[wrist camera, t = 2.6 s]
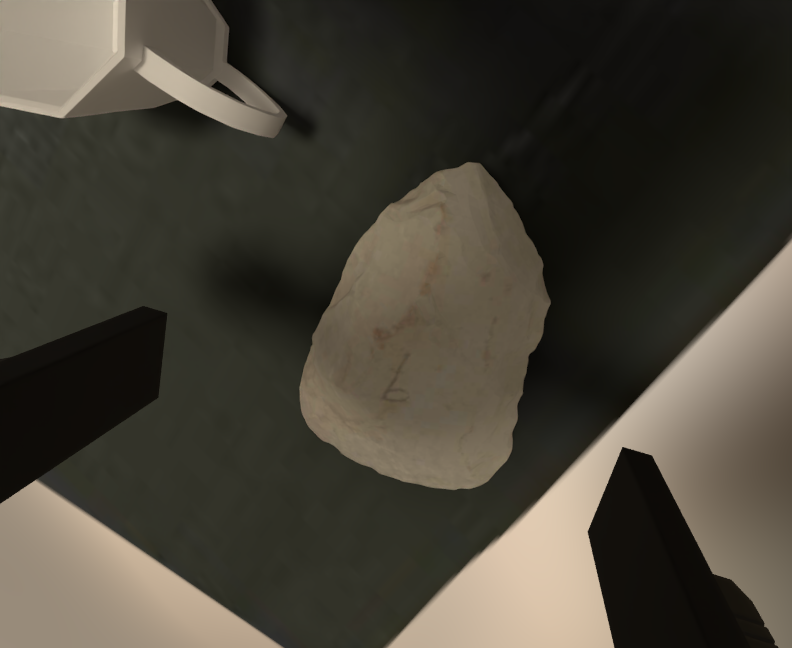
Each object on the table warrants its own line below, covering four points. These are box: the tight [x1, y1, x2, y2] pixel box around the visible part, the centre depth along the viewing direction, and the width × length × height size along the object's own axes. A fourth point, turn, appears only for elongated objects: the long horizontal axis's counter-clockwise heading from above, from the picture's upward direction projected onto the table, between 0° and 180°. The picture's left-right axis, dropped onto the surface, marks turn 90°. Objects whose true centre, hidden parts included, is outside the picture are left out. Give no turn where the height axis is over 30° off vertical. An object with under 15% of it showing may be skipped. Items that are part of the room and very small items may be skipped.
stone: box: [299, 162, 551, 490], centre depth 21 cm, size 9×13×5 cm
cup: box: [0, 0, 287, 138], centre depth 19 cm, size 7×10×8 cm
